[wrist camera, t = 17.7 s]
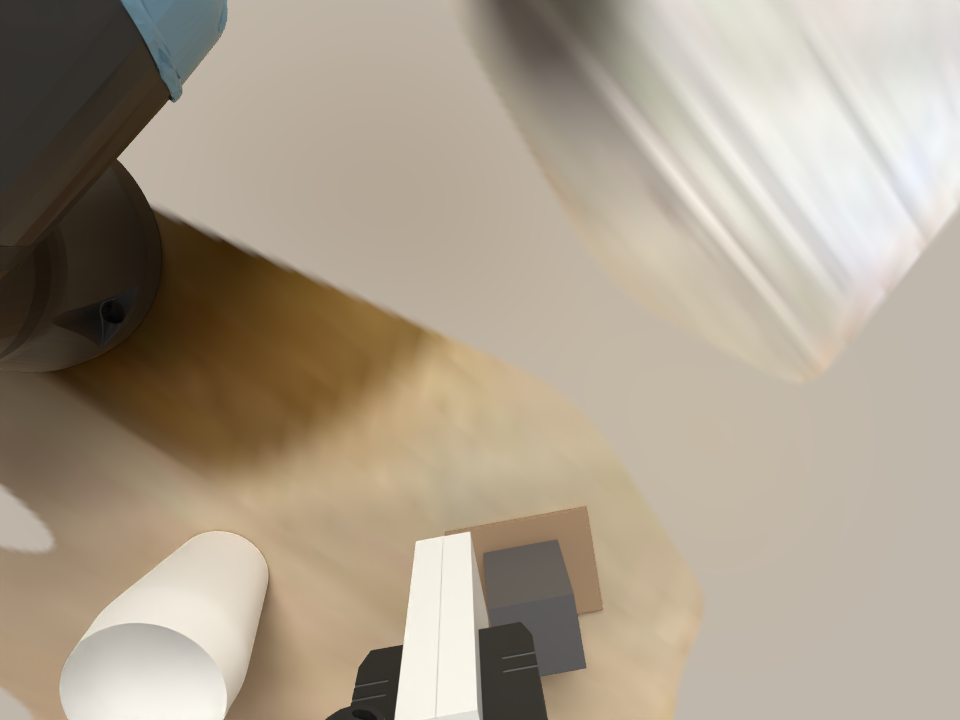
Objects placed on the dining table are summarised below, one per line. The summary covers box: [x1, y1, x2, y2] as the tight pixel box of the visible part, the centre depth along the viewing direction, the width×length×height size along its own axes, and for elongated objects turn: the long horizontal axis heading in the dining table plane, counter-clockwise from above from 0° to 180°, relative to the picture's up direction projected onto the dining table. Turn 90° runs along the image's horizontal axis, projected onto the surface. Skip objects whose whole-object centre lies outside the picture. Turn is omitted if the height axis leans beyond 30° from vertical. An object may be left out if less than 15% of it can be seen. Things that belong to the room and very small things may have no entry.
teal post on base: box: [445, 506, 603, 627], centre depth 44 cm, size 10×8×7 cm
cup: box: [59, 531, 269, 720], centre depth 41 cm, size 9×9×12 cm
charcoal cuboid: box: [483, 539, 586, 676], centre depth 43 cm, size 5×5×7 cm
